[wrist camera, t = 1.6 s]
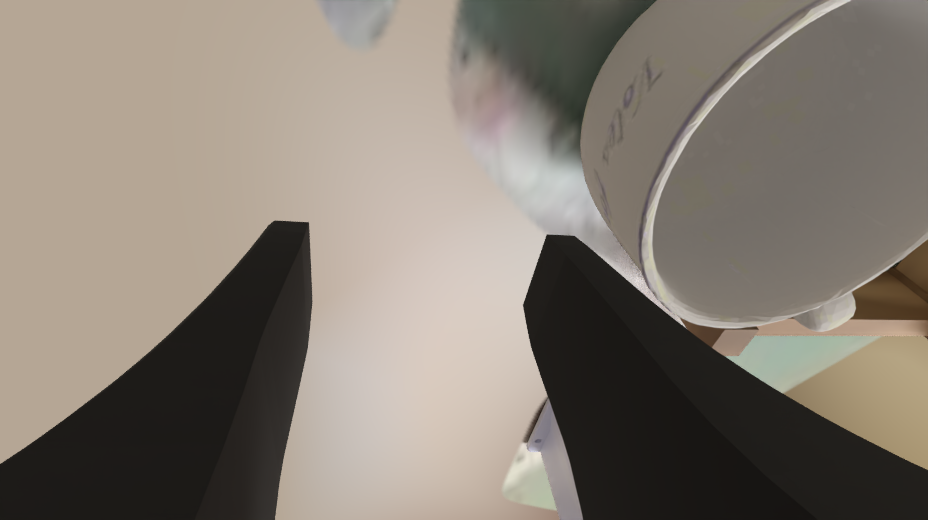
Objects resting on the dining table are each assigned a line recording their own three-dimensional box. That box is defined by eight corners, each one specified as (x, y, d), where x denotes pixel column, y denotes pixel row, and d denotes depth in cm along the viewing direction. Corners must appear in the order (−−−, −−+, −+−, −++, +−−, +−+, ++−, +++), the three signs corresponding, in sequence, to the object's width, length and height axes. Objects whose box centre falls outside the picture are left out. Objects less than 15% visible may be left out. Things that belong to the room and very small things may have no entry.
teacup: (522, 12, 16) (612, 101, 10) (848, -141, 15) (1181, -143, 9) (597, 279, 25) (669, 412, 19) (806, 200, 24) (956, 316, 18)
